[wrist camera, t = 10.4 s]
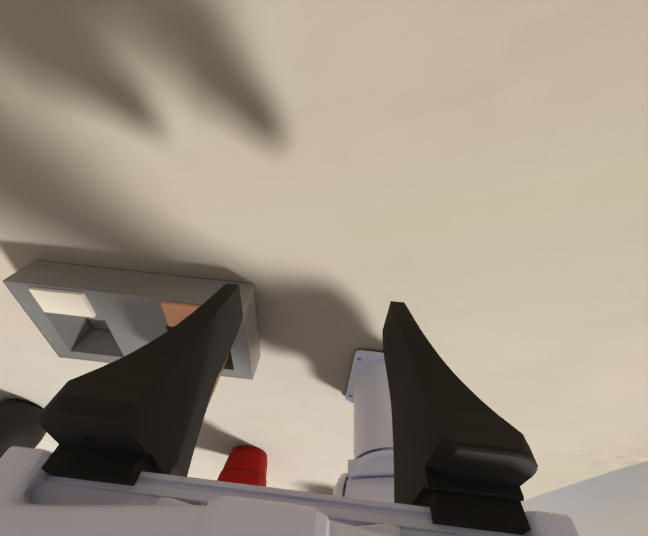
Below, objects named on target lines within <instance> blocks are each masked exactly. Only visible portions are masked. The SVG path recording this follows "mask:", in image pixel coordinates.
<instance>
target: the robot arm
mask: <svg viewBox="0 0 648 536" xmlns="http://www.w3.org/2000/svg"><path fill="white" fill-rule="evenodd" d="M242 318H243V310H242V303H241V295H240V287H239V285H237V284H228V283H226V284H225V285H224V286H223V287H222V288H220V289H219V290H218V291H217V292H216V293H215V294H214V295H213V296H211V297H210V298H209V299H208V300H207V301H206V302H205V303H203V304H202V305H201V306H200V307H199V308H197V309H196V310H195V311H194V312H193V313H191V314H190V315H189V316H187V317H186V318H185V319H184V320H182V321H181V322H180V323H178V324H177V325H176V326H174V327H173V328H171V329H170V330H169V331H167V332H166V333H164V334H162V335H161V336H159V337H158V338H156V339H155V340H153V341H151V342H149V343H148V344H146V345H144V346H142V347H141V348H139V349H137V350H135V351H134V352H132V353H130V354H128V355H126V356H124V357H122V358H120V359H118V360H116V361H114V362H112V363H110V364H107V365H105V366H103V367H101V368H99V369H96V370H94V371H91V372H89V373H87V374H84V375H82V376H79V377H77V378H75V379H72V380H69V381H68V382H67V383H66V384H65V385H64V386H63V388H62V389H61V390H60V391H59V392H58V393H57V394H56V395H55V397H54V398H53V399H52V400H51V401H50V402H49V403H48V405H47V406H46V407H45V408H44V409H43V410H42V411H41V413H40V414H39V416H38V420H39V424H40V425H41V426H42V428H43V429H44V430H45V431H46V432H47V433H48V434H49V435H51V436H52V437H53V438H54V439H55V440H56V441H57V442H58V443H59V446H58V447H57V448H56V449H55V451H54V452H53V453H51V452H48V451H46V450H41V449H33V448H25V447H17V446H13V447H10V448H9V449H8V450H7V451H6V452H5V453H4V455H3V456H2V457H1V458H0V536H579V534H578V532H577V530H576V528H575V526H574V524H573V522H572V519H571V518H570V517H569V516H568V515H565V514H557V513H549V512H540V511H528V512H524V510H523V507H522V505H521V502H520V501H523V500H524V497H523V494H522V491H521V489H520V486H521V485H522V484H523V483H524V482H526V481H527V480H528V479H530V478H531V477H532V476H533V475H534V474H535V473H536V471H537V467H538V465H537V463H536V461H535V459H534V456H533V454H532V452H531V449H530V447H529V445H528V443H527V442H526V440H525V438H524V436H523V434H522V433H520V432H519V431H518V430H517V429H515V428H514V427H513V426H511V425H510V424H509V423H508V422H506V421H505V420H504V419H503V418H501V417H500V416H499V415H497V414H496V413H495V412H494V411H493V410H492V409H490V408H489V407H488V406H487V405H486V404H485V403H484V402H482V401H481V400H480V399H479V398H478V397H477V396H476V395H475V394H474V393H473V392H472V391H471V390H470V389H469V388H468V387H467V386H466V385H465V384H464V383H463V382H462V381H461V380H460V379H459V378H458V377H457V376H456V375H455V374H454V373H453V372H452V371H451V369H450V368H449V367H448V366H447V365H446V364H445V362H444V361H443V360H442V359H441V357H440V356H439V355H438V354H437V352H436V351H435V350H434V348H433V347H432V345H431V344H430V343H429V341H428V340H427V338H426V337H425V335H424V334H423V332H422V331H421V329H420V328H419V326H418V325H417V323H416V321H415V320H414V318H413V316H412V315H411V313H410V311H409V310H408V308H407V306H406V305H405V303H402V302H393V301H391V303H390V306H389V310H388V314H387V317H386V321H385V324H384V328H383V353H382V352H374V351H365V350H357V351H356V352H355V355H354V360H353V364H352V369H351V374H350V378H349V383H348V388H347V392H346V397H345V401H346V402H347V403H354V460H348V473H344V474H342V475H341V476H340V478H339V480H338V482H337V483H336V485H335V487H334V491H333V495H327V494H319V493H311V492H303V491H295V490H287V489H279V488H271V487H263V486H255V485H247V484H239V483H231V482H223V481H215V480H207V479H199V478H191V477H187V474H188V470H189V467H190V463H191V459H192V456H193V452H194V448H195V445H196V442H197V438H198V435H199V431H200V428H201V425H202V422H203V419H204V415H205V412H206V409H207V406H208V403H209V400H210V397H211V394H212V391H213V388H214V385H215V383H216V380H217V378H218V376H219V373H220V371H221V369H222V367H223V365H224V363H225V360H226V358H227V356H228V354H229V352H230V350H231V347H232V345H233V343H234V341H235V338H236V336H237V334H238V331H239V328H240V324H241V321H242Z"/></svg>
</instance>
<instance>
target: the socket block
mask: <svg viewBox="0 0 648 536" xmlns="http://www.w3.org/2000/svg"><path fill="white" fill-rule="evenodd" d="M3 282H4V284H5V285H6V286H7V288H8V289H9V290H10V292H11V293H12V294H13V296H14V297H15V298H16V300H17V301H18V302H19V304H20V305H21V306H22V308H23V309H24V311H25V312H26V313H27V315H28V316H29V317H30V319H31V320H32V321H33V323H34V324H35V325H36V327H37V328H38V329H39V331H40V332H41V333H42V335H43V336H44V337H45V339H46V340H47V341H48V343H49V344H50V345H51V347H52V348H53V349H54V351H55V352H56V353H57V355H58V356H59V357H63V358H72V359H80V360H89V361H98V362H106V363H112V362H114V361H116V360H118V359H120V358H122V357H124V356H126V355H128V354H130V353H132V352H134V351H135V350H137V349H139V348H141V347H142V346H144V345H146V344H148V343H149V342H151V341H153V340H155V339H156V338H158V337H159V336H161V335H162V334H164V333H166V332H167V331H169V330H170V329H171V328H173V327H174V326H176V325H177V324H178V323H180V322H181V321H182V320H184V319H185V318H186V317H187V316H189V315H190V314H191V313H193V312H194V311H195V310H196V309H197V308H199V307H200V306H201V305H202V304H203V303H205V302H206V301H207V300H208V299H209V298H210V297H211V296H213V295H214V294H215V293H216V292H217V291H218V290H219V289H220V288H222V287H223V286H224V285H225V284H226V283H228V284H237V285H239V287H240V295H241V303H242V310H243V318H242V321H241V324H240V328H239V331H238V334H237V336H236V338H235V341H234V343H233V345H232V347H231V351H230V354H229V356H228V359H227V361H226V363H225V366H224V368H223V371H222V373H221V375H220V376H226V377H235V378H244V379H252V380H253V377H254V374H255V371H256V367H257V364H258V361H259V358H260V345H259V334H258V323H257V312H256V301H255V290H254V284H248V283H239V282H230V281H221V280H212V279H203V278H193V277H184V276H175V275H166V274H157V273H147V272H138V271H129V270H120V269H111V268H101V267H92V266H83V265H74V264H65V263H56V262H46V261H37V260H34V261H33V262H31V263H30V264H28V265H27V266H25V267H23V268H22V269H20V270H19V271H17V272H16V273H14V274H12V275H11V276H9V277H8V278H6V279H5V280H3ZM86 317H92V318H94V317H95V318H104V320H105V322H106V324H107V326H108V327H109V329H110V330H101V329H92V327H91V325H90V324H89V322H88V320H87V319H86Z"/></svg>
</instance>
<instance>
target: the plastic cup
mask: <svg viewBox="0 0 648 536" xmlns="http://www.w3.org/2000/svg"><path fill="white" fill-rule="evenodd" d="M266 471H267V455H266V453H265V452H264V451H262V450H260V449H258V448H256V447H251V446H237V447H235V448H233V450H232V452H231V453H230V455H229V457H228V459H227V461H226V464H225V466H224V468H223V470H222V471H221V473H220V475H219V477H218V480H217V481H223V482H231V483H239V484H247V485H255V486H263V487H266Z"/></svg>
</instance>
